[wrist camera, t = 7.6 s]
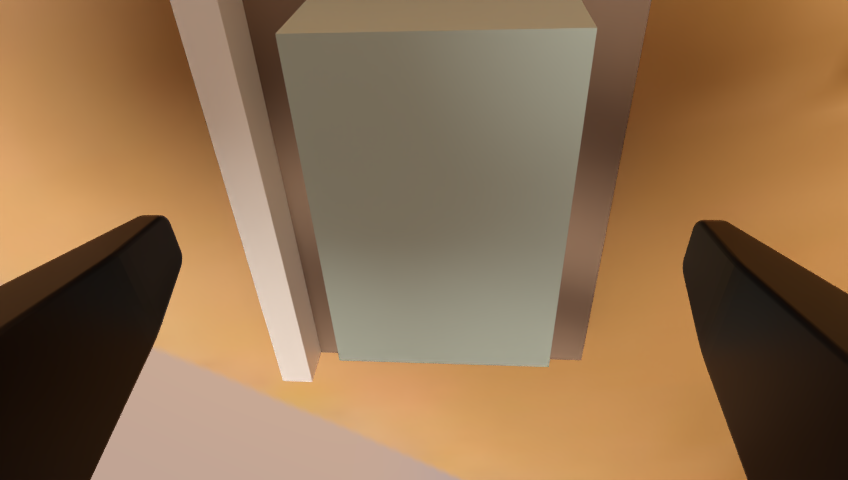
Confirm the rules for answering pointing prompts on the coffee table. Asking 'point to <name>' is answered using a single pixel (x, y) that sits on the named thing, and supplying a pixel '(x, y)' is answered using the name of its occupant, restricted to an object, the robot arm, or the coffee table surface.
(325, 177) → the tea tin
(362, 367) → the coffee table surface
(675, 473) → the coffee table surface
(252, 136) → the rail
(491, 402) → the coffee table surface
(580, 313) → the shelf board
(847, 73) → the coffee table surface
